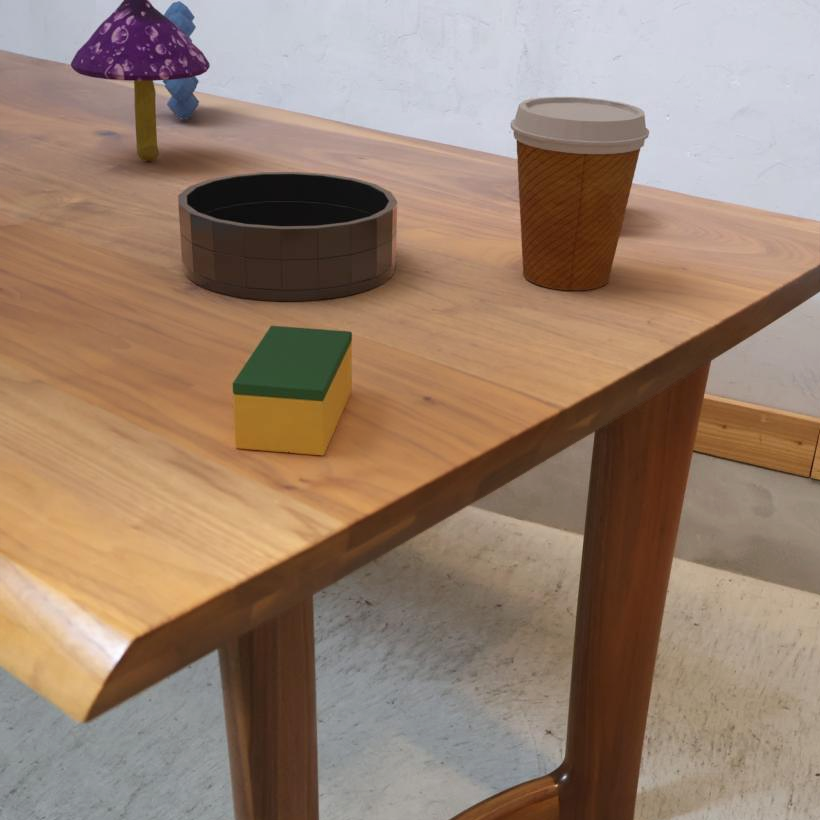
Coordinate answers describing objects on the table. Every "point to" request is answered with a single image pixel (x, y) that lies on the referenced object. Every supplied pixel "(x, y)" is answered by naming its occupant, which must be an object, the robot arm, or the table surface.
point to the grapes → (183, 88)
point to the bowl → (287, 235)
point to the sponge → (293, 390)
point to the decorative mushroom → (140, 60)
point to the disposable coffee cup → (574, 186)
